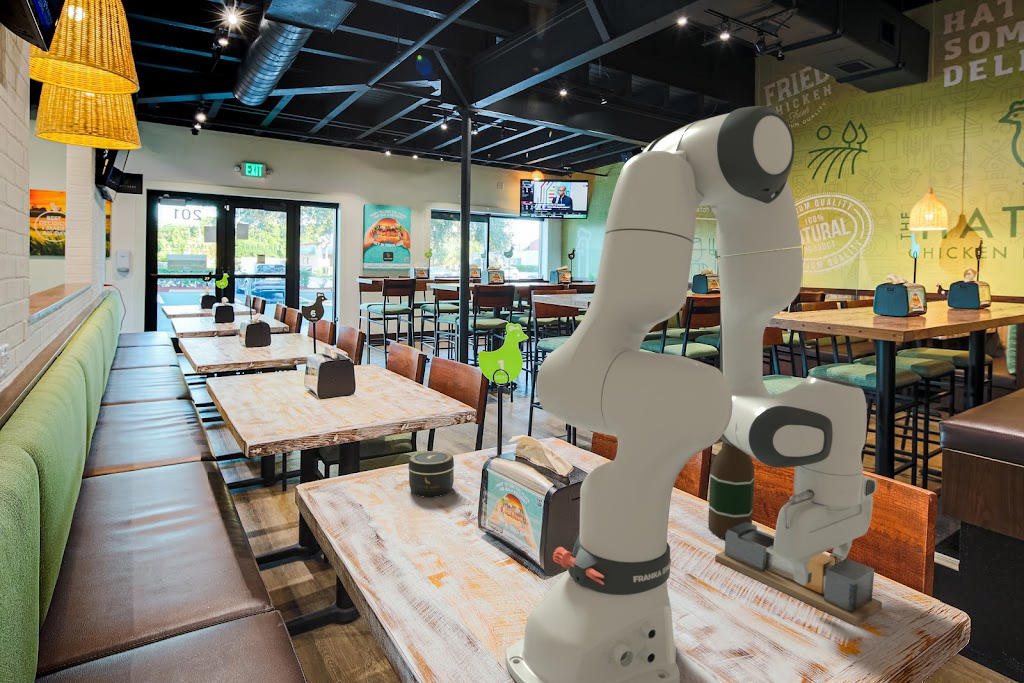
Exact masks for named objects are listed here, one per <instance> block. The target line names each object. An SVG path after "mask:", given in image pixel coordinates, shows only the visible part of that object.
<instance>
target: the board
mask: <svg viewBox="0 0 1024 683" xmlns="http://www.w3.org/2000/svg"><path fill="white" fill-rule="evenodd" d="M714 557H715V559H714V561H716V562H717V563H719V564H722V565H724V566H726V567H728V568H730V567H731V569H732V568H733V569H732V570H734V571H738V572H740V573H741V574H743V573H744V574H743V575H745V576H748V577H751V578H752V579H754V580H756V581H758V580H759V582H760V583H763V584H766V585H768V586H769V587H771V586H772V587H771V588H773V587H774V589H776V590H778V591H780V592H782V593H784V594H786V595H788V596H791V597H793V598H795V599H798V600H799V601H802V602H804V603H806V604H809V605H810V606H813V607H814V608H817V609H818V610H821V611H824V612H826V613H828V614H830V615H831V616H832V615H833V616H834V617H836V618H838V619H840V620H843V621H845V622H847V623H849V624H850V625H853V626H858V625H860V624H861V623H862V622H864V621H865V620H867V619H868V618H870V617H871V616H873V615H874V614H875V613H877V612H878V611H880V610H881V609H883V608H882V606H883V601H882V600H879V599H877V598H874V597H872V601H871V602H869V603H868V604H866V605H864V606H863V607H861V608H860V609H858V610H857V611H855V612H854V613H850V612H848V611H846V610H843V609H841V608H839V607H837V606H834V605H832V604H830V603H828V602H826V601H824V594H823V593H822V594H820V593H818V592H816V591H814V590H811V589H809V588H807V587H805V586H802V585H801V584H799V583H797V582H796V581H793V580H791V579H789V578H787V577H784V576H782V575H780V574H777V573H775V572H773V571H771V570H768V569H766V568H765V571H764V572H760V571H758V570H756V569H754V568H751V567H749V566H747V565H745V564H743V563H740V562H738V561H736V560H734V559H731V558H729V557H727V556H725V550H723V551H722V552H719V553H717V554H715V556H714Z"/></svg>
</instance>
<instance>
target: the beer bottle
mask: <svg viewBox="0 0 1024 683" xmlns="http://www.w3.org/2000/svg"><path fill="white" fill-rule="evenodd" d="M710 466H711V467H710V475H709V478H710V479H709V480H710V481H709V498H708V516H707V517H708V525H707V526H708V531H709V532H711V531H712V532H713V533H714V536H716V537H717V536H720V537H719V538H721V537H724V538H723V539H725V535H726V532H727V529H730V528H732V527H735V526H737V525H740V524H742V523H745V522H748V523H751V524H753V513H754V512H753V509H754V495H755V494H754V493H755V492H754V491H755V466H754V463H753V459H752V457H751V456H749V455H748V454H746V453H745V452H743V451H742V450H740V449H738V448H736V447H734V446H731V445H729V444H727V443H726V442H724V441H723V440H722V444H721V449H720V450H719V451H718V453H717V454H716V455H715V456H714V459H713V461H712V464H711V465H710ZM712 532H711V533H712ZM713 533H712V534H713Z"/></svg>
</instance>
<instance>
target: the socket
mask: <svg viewBox="0 0 1024 683" xmlns="http://www.w3.org/2000/svg"><path fill="white" fill-rule="evenodd" d="M874 577H875V568H873V567H870V566H867V565H865V564H862V563H860V562H858V561H855V560H852V559H849V558H847V557H846V559H844V560H842V561H840V562H838V563H836V564H834V565H833V566H831V567H829V568H827V569H826V578H825V593H824V601H826V602H828V603H830V604H832V605H834V606H837V607H839V608H841V609H843V610H846V611H848V612H850V613H854V612H855V611H857V610H858V609H860V608H861V607H863V606H864V605H866V604H868V603H869V602H871V601H872V598H873V590H874V579H875V578H874Z"/></svg>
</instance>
